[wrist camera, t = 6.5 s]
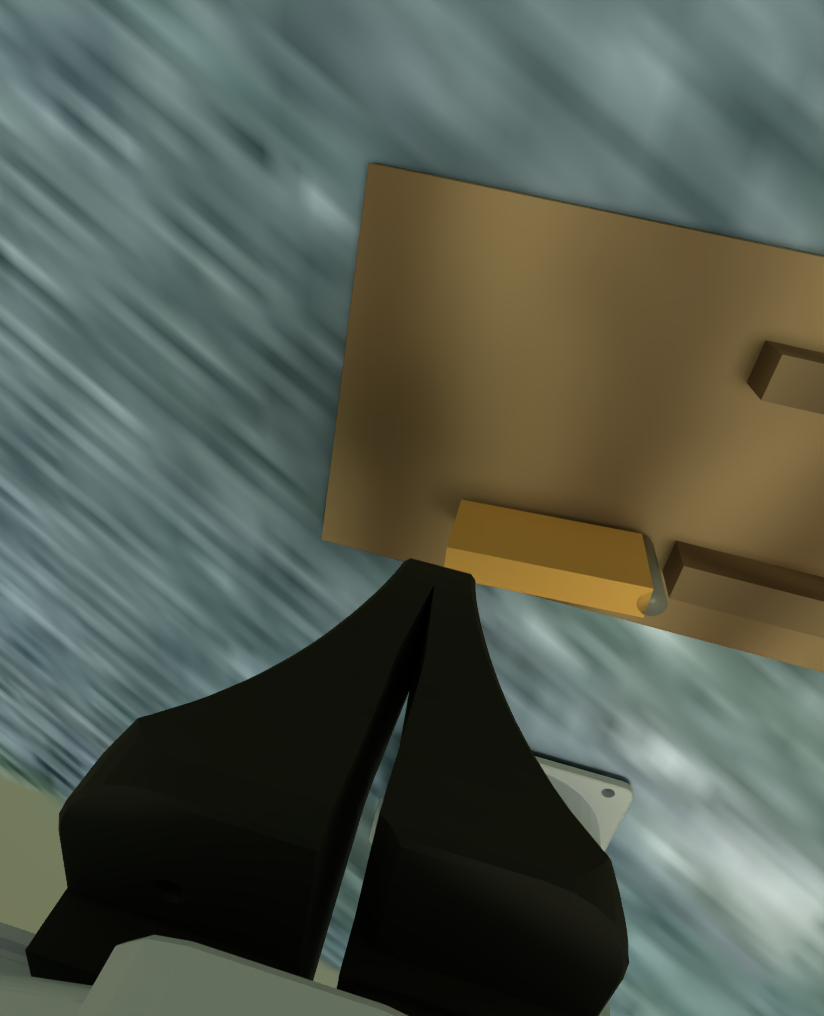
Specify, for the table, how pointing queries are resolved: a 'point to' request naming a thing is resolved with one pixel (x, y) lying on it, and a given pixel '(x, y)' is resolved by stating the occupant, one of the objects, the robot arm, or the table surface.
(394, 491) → the cradle
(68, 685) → the table surface
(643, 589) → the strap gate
